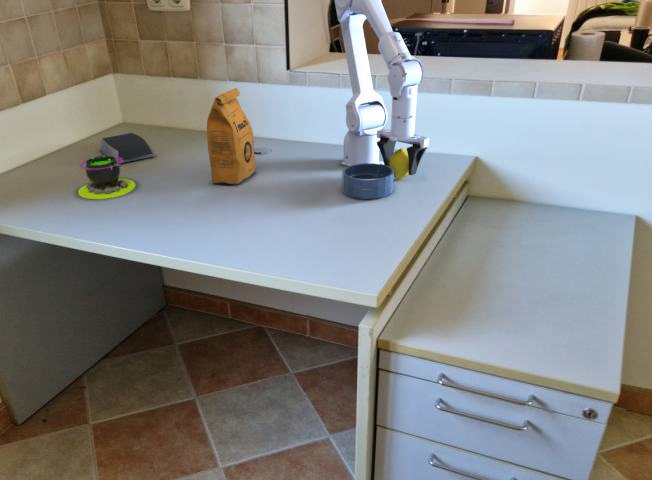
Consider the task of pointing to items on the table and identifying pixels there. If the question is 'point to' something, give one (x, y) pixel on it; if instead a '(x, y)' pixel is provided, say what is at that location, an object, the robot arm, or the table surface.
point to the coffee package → (229, 140)
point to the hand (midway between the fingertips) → (400, 171)
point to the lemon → (400, 163)
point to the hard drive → (126, 147)
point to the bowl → (367, 180)
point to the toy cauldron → (104, 178)
